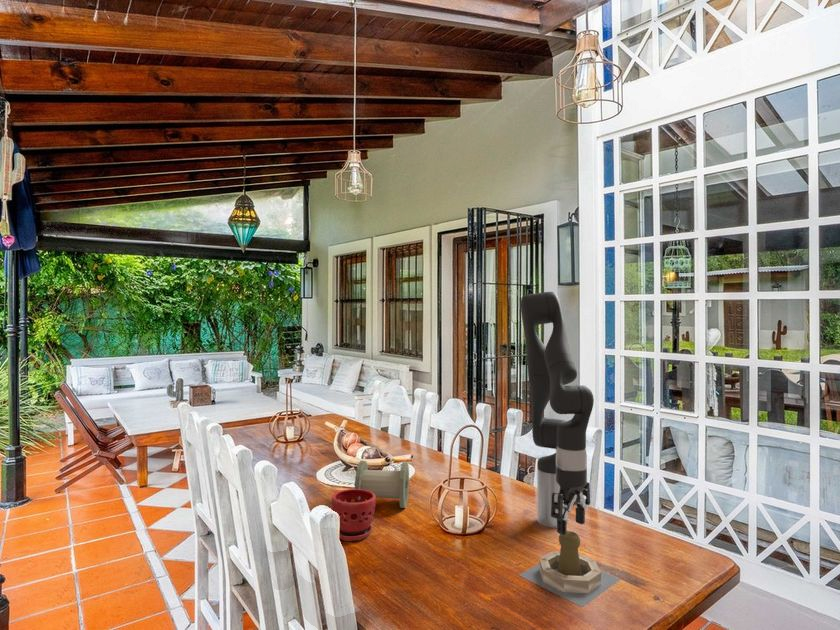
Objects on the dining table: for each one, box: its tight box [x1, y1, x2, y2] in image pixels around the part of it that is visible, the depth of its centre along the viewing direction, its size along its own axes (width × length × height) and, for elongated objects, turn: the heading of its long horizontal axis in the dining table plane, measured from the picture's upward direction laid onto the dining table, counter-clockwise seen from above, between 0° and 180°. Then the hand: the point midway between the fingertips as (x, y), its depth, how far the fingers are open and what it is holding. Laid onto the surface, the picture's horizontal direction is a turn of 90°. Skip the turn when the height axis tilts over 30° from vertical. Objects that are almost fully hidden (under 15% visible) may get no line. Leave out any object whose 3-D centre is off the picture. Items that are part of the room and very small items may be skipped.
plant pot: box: [331, 488, 377, 542], centre depth 151 cm, size 13×13×12 cm
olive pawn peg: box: [557, 530, 581, 576], centre depth 126 cm, size 6×6×11 cm
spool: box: [354, 460, 410, 509], centre depth 173 cm, size 16×15×15 cm
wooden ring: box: [538, 551, 602, 593], centre depth 126 cm, size 14×14×3 cm
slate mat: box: [518, 563, 621, 608], centre depth 126 cm, size 18×18×1 cm
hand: (571, 528), depth 126 cm, fingers open, 8 cm apart
